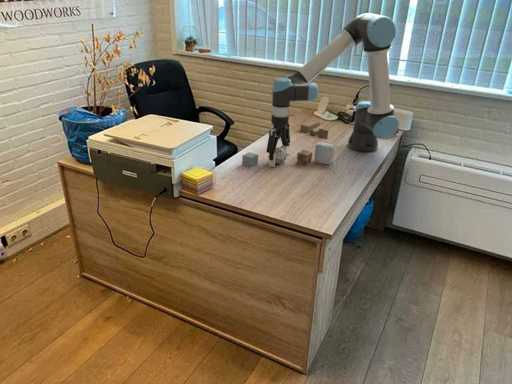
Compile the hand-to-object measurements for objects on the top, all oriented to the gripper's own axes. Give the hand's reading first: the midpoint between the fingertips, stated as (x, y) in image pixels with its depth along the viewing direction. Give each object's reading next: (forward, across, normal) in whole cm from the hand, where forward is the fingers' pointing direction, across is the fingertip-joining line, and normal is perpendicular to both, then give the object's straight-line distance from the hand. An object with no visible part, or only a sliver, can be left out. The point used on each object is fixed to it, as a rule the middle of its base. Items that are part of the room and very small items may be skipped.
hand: (277, 162), depth 197 cm
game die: (+1, 0, 0) cm, 1 cm away
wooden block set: (+1, -54, -5) cm, 54 cm away
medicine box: (+1, -15, +16) cm, 22 cm away
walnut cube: (+1, -9, +9) cm, 13 cm away
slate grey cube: (+1, +9, -9) cm, 13 cm away
